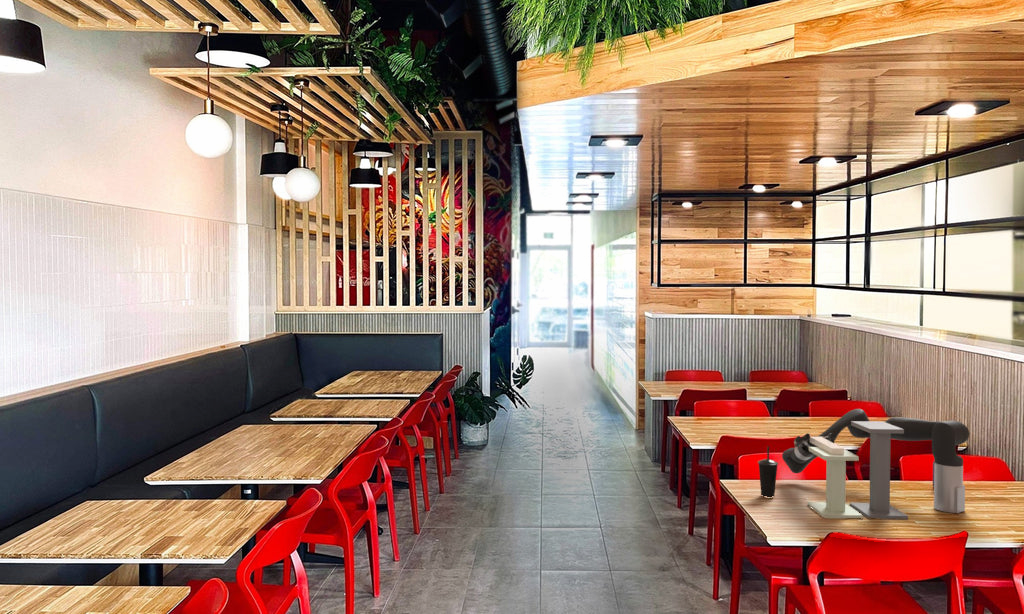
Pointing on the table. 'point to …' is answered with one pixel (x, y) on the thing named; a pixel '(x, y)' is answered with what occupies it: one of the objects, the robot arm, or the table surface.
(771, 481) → the drinking cup
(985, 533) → the table surface
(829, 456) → the low shelf
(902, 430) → the high shelf
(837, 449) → the pale pink beam
